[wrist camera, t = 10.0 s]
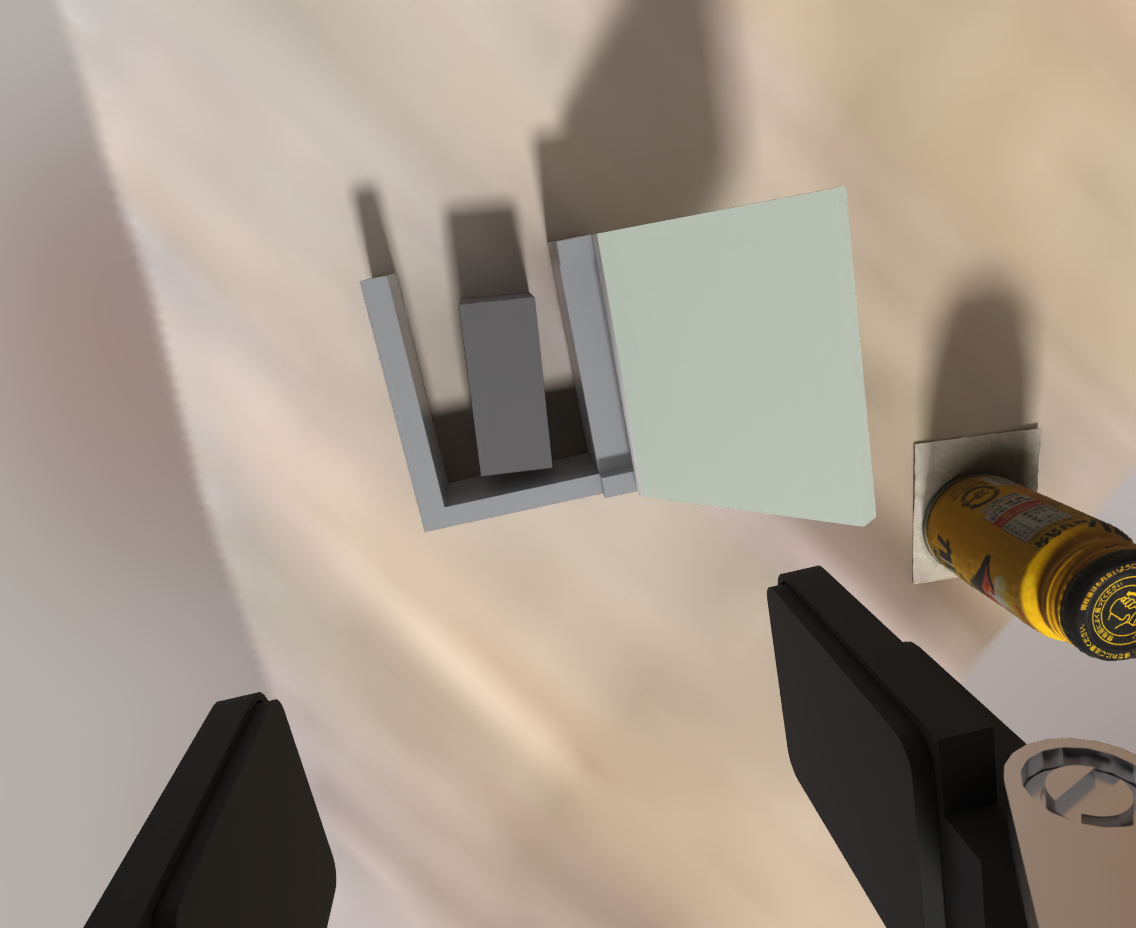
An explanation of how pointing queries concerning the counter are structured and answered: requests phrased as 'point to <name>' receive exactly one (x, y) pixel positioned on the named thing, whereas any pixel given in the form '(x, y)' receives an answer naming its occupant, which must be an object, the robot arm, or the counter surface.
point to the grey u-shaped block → (595, 390)
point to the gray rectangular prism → (506, 383)
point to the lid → (743, 358)
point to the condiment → (1022, 543)
